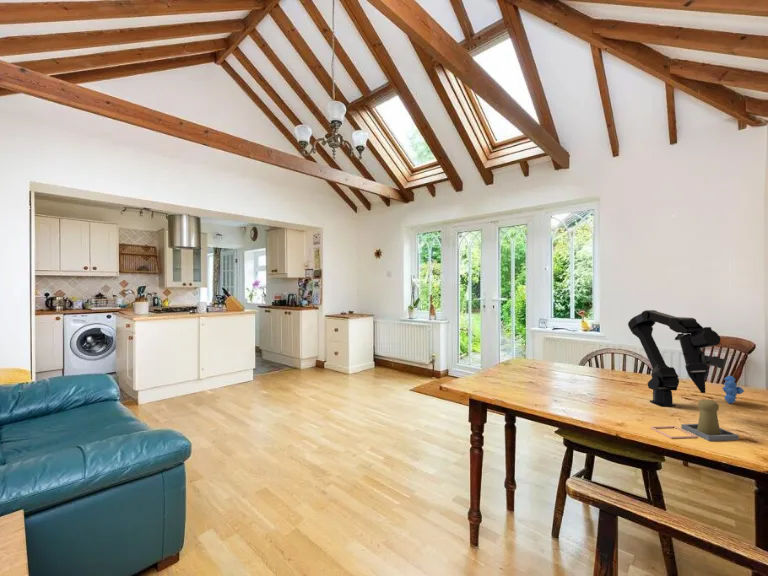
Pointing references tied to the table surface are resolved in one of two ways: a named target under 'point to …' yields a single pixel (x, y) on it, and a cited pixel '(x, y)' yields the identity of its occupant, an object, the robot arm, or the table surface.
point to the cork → (708, 417)
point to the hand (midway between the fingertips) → (703, 392)
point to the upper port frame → (673, 436)
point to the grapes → (731, 389)
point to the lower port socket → (724, 435)
